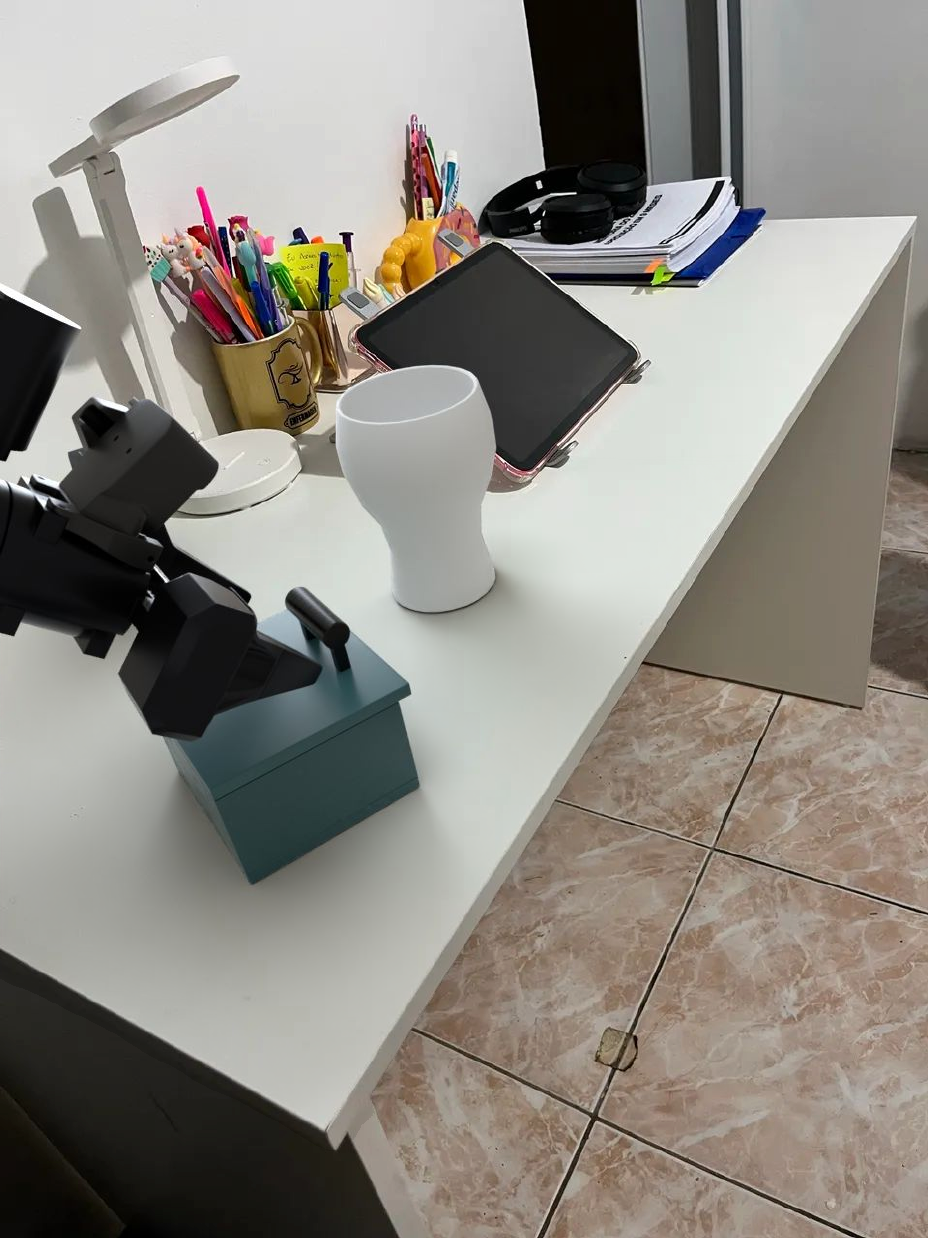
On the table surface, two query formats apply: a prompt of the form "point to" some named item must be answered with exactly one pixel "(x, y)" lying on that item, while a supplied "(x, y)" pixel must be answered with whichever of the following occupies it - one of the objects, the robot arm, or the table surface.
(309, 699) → the box lid
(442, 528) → the white vase
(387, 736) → the teal box
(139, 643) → the robot arm
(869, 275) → the table surface
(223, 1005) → the table surface
